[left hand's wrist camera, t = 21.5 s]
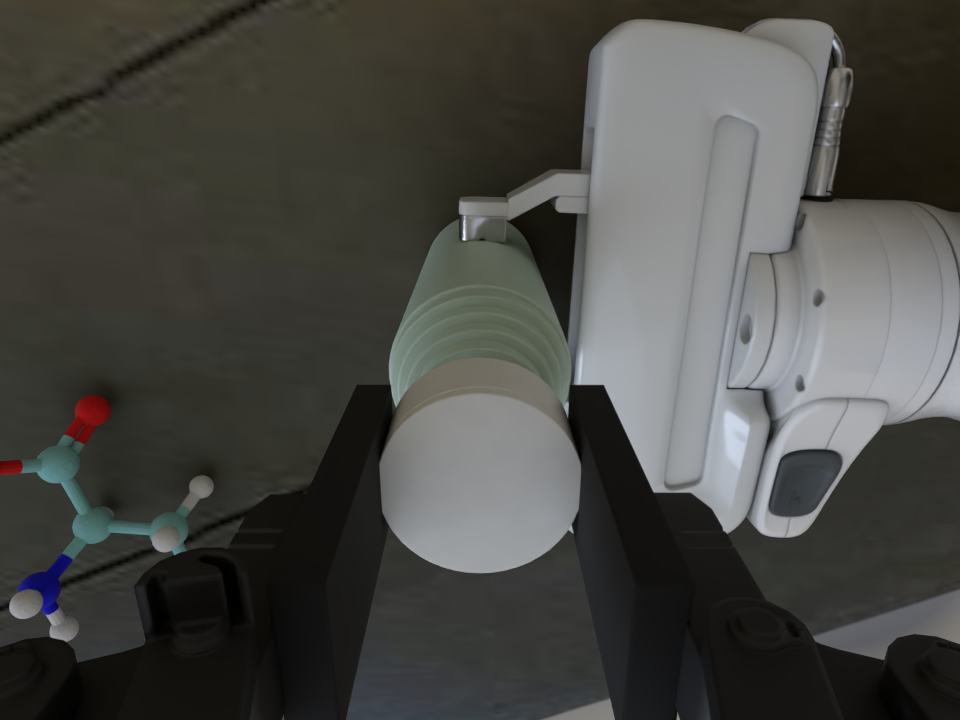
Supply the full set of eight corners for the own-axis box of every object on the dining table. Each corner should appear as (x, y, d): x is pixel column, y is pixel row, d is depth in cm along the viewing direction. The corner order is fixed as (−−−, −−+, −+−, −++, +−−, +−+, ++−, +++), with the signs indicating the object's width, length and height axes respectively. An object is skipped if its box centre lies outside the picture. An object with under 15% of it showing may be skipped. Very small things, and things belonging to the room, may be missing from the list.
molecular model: (256, 460, 31) (68, 643, 24) (247, 537, 38) (98, 695, 31) (73, 326, 32) (-155, 465, 25) (97, 425, 39) (-77, 555, 32)
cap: (358, 396, 14) (340, 439, 12) (531, 328, 14) (539, 361, 12) (434, 540, 16) (428, 598, 14) (595, 483, 15) (611, 534, 13)
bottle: (423, 315, 32) (350, 564, 14) (430, 209, 31) (356, 339, 12) (527, 325, 33) (585, 583, 14) (540, 220, 31) (626, 364, 13)
